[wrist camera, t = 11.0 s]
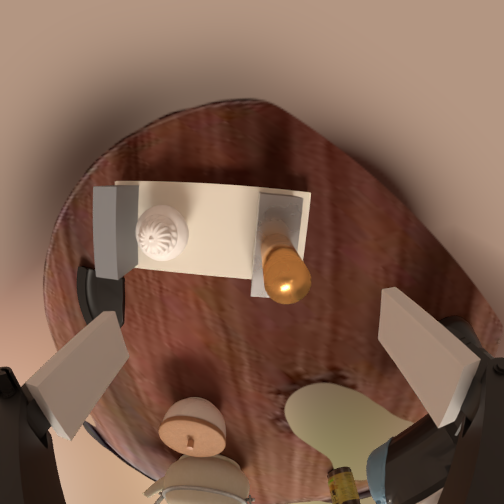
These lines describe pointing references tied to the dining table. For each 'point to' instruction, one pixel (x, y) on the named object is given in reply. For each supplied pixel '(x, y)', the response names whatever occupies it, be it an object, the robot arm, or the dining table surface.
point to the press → (197, 218)
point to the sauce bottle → (342, 486)
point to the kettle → (202, 482)
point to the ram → (278, 250)
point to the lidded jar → (194, 428)
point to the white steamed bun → (162, 233)
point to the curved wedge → (100, 295)
